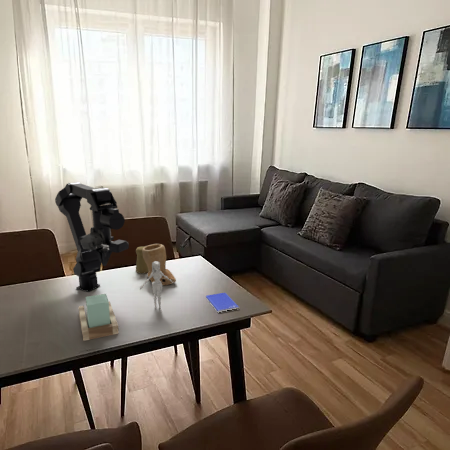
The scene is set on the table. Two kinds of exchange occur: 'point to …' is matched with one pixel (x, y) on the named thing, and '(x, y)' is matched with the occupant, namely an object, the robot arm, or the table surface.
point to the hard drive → (221, 302)
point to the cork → (141, 262)
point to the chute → (99, 330)
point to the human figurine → (156, 282)
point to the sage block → (97, 310)
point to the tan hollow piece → (158, 254)
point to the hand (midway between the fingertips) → (104, 265)
